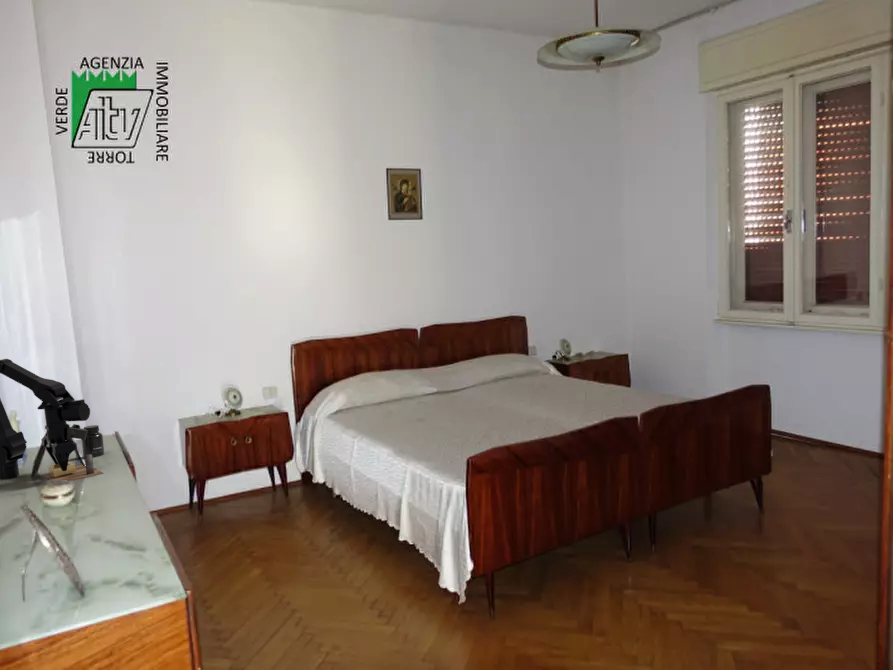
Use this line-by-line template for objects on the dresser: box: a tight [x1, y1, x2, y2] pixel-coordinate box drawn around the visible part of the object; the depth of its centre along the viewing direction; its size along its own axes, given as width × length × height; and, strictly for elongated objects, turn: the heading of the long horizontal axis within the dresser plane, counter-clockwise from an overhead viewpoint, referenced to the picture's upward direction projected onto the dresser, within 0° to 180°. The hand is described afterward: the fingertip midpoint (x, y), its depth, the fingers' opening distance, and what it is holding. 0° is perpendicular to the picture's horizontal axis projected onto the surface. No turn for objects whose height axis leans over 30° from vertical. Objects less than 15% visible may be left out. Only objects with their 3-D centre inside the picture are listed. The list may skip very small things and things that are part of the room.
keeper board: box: [41, 454, 105, 483], centre depth 227 cm, size 18×14×8 cm
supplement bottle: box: [81, 424, 105, 459], centre depth 249 cm, size 7×7×12 cm
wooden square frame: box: [47, 460, 76, 477], centre depth 226 cm, size 6×6×2 cm
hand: (61, 469), depth 226 cm, fingers closed on wooden square frame, 6 cm apart
